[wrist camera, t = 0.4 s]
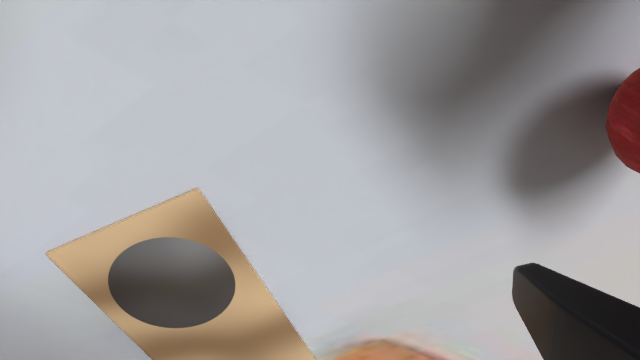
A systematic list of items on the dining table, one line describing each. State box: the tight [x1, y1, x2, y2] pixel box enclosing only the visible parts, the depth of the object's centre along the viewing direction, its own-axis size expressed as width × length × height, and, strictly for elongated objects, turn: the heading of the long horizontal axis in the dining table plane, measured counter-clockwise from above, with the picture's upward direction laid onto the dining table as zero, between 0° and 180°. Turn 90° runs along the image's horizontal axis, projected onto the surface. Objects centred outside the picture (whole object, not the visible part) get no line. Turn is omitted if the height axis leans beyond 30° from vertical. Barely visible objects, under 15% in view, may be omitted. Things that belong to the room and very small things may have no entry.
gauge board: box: [46, 188, 316, 360], centre depth 28 cm, size 21×9×1 cm, turn 23°
